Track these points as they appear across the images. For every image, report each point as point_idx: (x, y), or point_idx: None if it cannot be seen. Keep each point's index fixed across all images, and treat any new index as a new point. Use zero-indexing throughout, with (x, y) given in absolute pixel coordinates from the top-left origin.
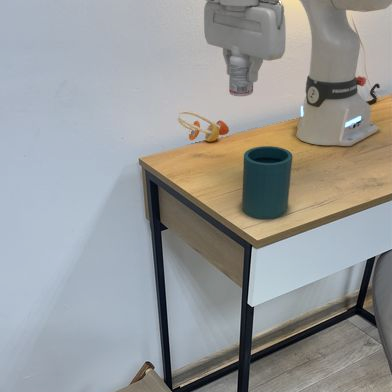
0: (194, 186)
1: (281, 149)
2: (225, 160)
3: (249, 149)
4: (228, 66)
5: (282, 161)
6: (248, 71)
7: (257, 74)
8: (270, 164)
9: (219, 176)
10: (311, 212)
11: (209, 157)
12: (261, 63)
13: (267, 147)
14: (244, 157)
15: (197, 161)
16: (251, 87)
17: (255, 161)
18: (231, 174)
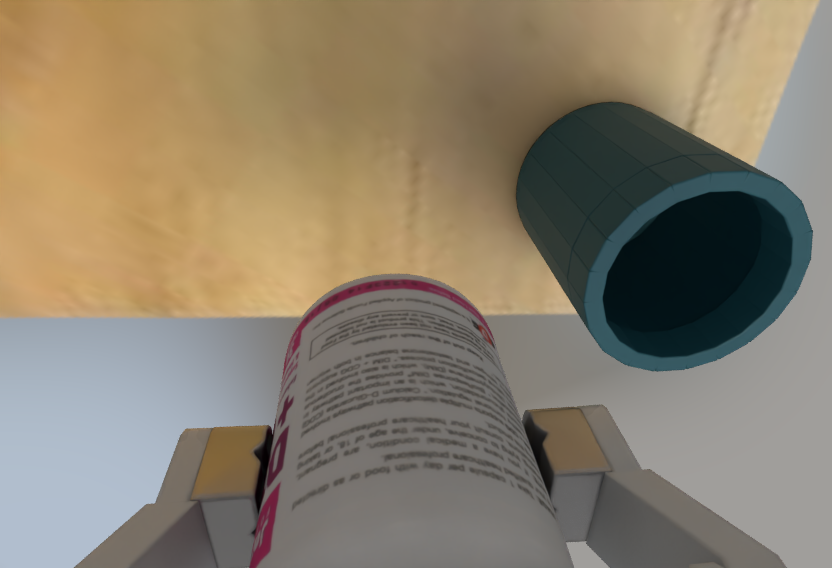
0: (289, 278)
1: (712, 191)
2: (88, 10)
3: (586, 307)
4: (221, 563)
5: (791, 276)
6: (573, 537)
7: (623, 445)
8: (761, 329)
9: (258, 153)
10: (747, 64)
11: (9, 57)
12: (746, 545)
13: (638, 229)
14: (627, 364)
15: (41, 138)
16: (499, 358)
17: (692, 356)
18: (268, 97)
